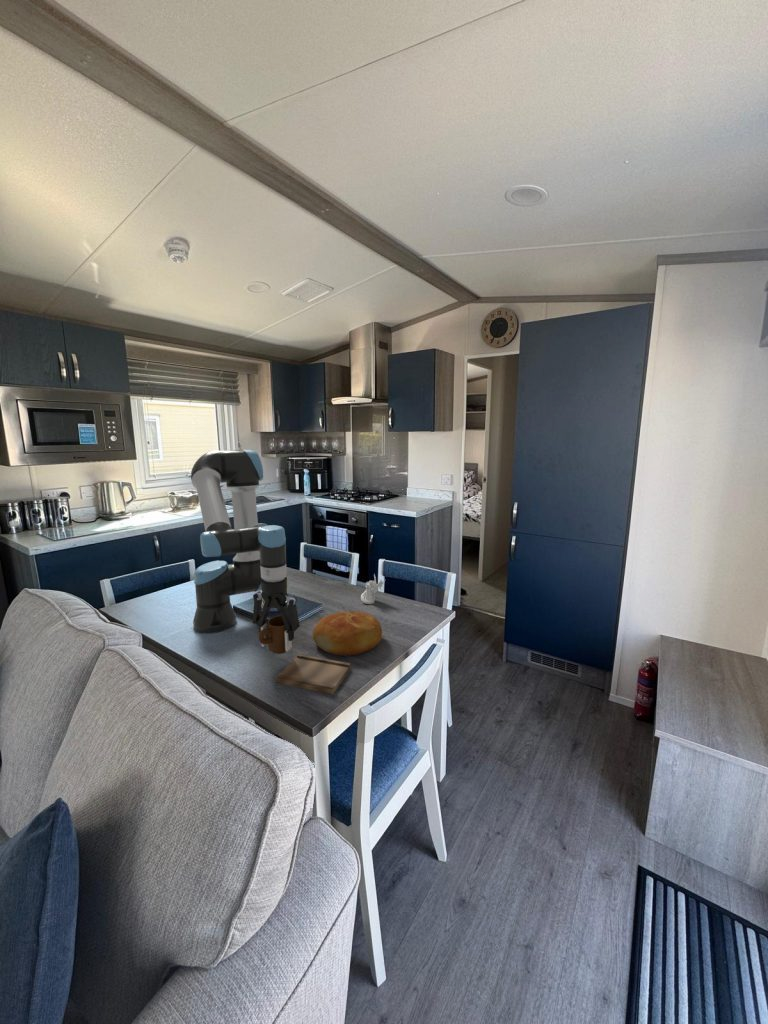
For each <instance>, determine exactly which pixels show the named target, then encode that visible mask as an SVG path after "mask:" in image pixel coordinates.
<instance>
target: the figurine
mask: <svg viewBox="0 0 768 1024" xmlns="http://www.w3.org/2000/svg"><path fill="white" fill-rule="evenodd" d="M373 577H374V580H369V581H366V582H365V588H366V589H365V590H364V592H362V593H361V595H360V600H361V601H362V602H363V604H365V605H373V604H374V603H376V602H375V597H376V593H377V592H379V591H378V590H379V589H381V588H382V587H383V584H385V581H386V580H384V581H383V579H381V580H380V581H379V582H378V583H377V578H376V575H375V573H374V574H373Z"/></svg>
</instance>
